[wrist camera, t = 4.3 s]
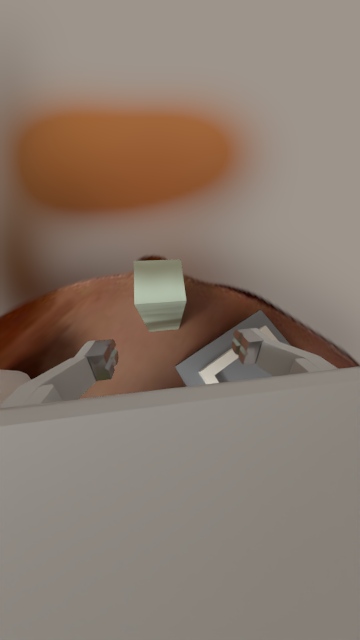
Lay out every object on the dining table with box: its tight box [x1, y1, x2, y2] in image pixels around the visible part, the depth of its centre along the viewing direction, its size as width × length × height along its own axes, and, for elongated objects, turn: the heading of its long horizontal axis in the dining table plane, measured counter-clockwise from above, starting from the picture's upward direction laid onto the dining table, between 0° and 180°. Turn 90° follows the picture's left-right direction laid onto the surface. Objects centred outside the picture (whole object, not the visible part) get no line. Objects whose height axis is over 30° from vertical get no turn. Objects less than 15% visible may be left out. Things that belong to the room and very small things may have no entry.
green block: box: [134, 260, 186, 332], centre depth 18 cm, size 5×5×10 cm
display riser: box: [175, 310, 291, 387], centre depth 18 cm, size 15×15×4 cm
